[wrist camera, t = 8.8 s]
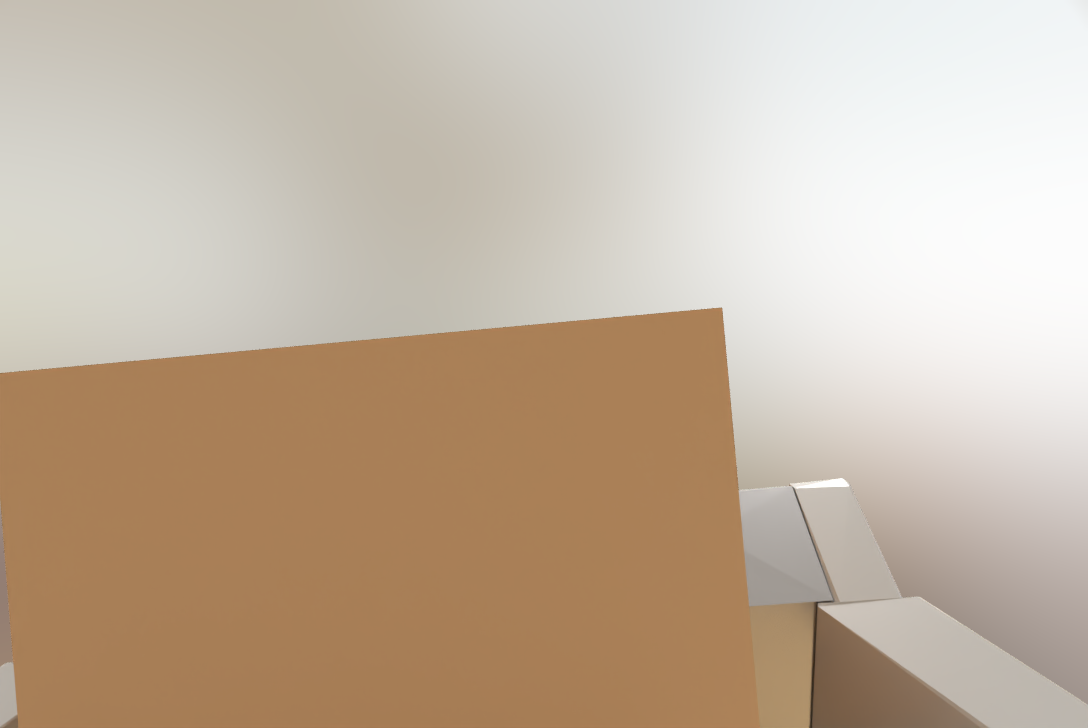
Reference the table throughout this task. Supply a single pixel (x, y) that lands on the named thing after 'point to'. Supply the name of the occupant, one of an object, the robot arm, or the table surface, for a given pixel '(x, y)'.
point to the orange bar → (384, 534)
